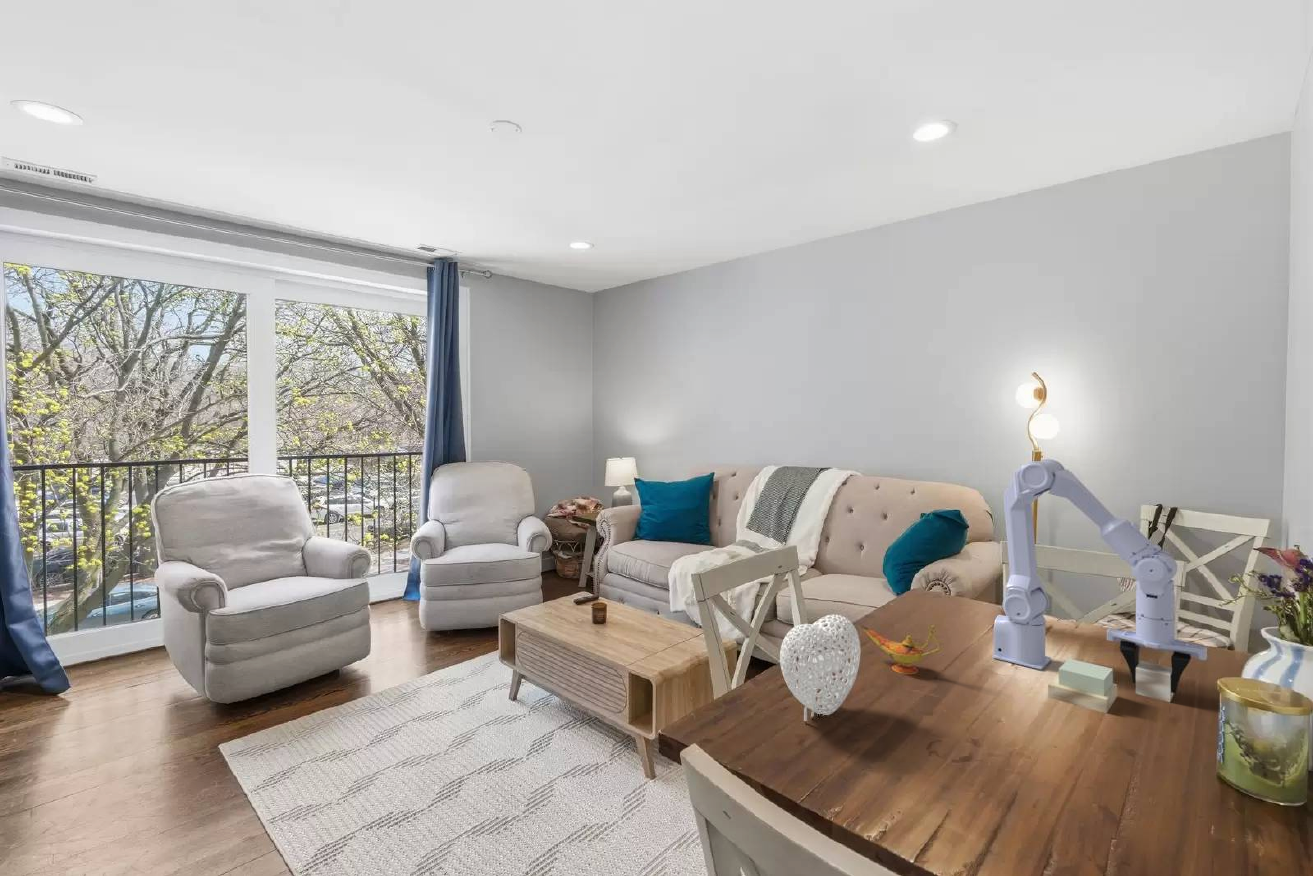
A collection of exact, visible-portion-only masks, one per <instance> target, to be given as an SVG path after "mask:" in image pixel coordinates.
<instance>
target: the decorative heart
mask: <svg viewBox="0 0 1313 876" xmlns="http://www.w3.org/2000/svg"><path fill="white" fill-rule="evenodd" d="M826 625H827V626H826ZM839 627H840V628H839ZM799 636H800V637H799ZM842 637H843V638H842ZM860 641H861V640H860V637H859V634H858V631H857V629H856V627H855V626H854V624H853V623H852V621H850V619H848V618H847V617H845V616H843V615H840V614H828V615H825V616H823V617H821V618H819V619H818V620H816V621H815V622H813V623H812V624H811V623H803V624H797V625H795V626H794V627H793V628H791V629H790V630H789V631H788V632H787V633H786V635H784V638H783V640H782V643H781V646H780V650H779V651H780V652H779V653H780V654H779V663H780V664H779V665H780V668H781V669H780V670H781V673H782V676H783V678H784V681H785V684H786V685H787V688H788V689H789V690H790V692H791V693H792V695H793V696H794V697H795V698H796V699H797V700H798V701H799V702H800V703H801V704H803V706H804V708H803V721H807V722H808V709H809V710H811V712H810V718H811V717H813V716H814V717H815V714H817V715H818V714H819V715H820V714H823V715H822V716H824V715H827V716H829V715H831V714H833V713H834V712H836V711H837V710H838V709H839V708H841V705H842V704H843V702H845V700H846V698H847V697H848V695H849V693H850V691H851V689H852V687H853V686H854V684H855V681H856V678H857V675H858V672H859V668H860V662H861V653H862V652H861V642H860ZM801 647H802V648H801ZM825 648H826V649H825ZM842 650H843V651H842ZM797 659H798V660H797ZM849 659H850V660H849ZM840 671H841V672H840ZM833 673H834V674H835V675H833ZM834 679H835V680H834ZM818 690H819V692H818ZM816 698H817V699H816ZM818 709H819V710H818Z"/></svg>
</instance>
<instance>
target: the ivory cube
mask: <svg viewBox="0 0 1313 876" xmlns="http://www.w3.org/2000/svg"><path fill="white" fill-rule="evenodd" d="M1171 681H1172V666H1166V665H1161V664H1158V663H1157V664H1156V663H1152V662H1148V661H1145V660H1144V661H1143V660H1140V661H1139V664H1138V665H1137V667H1136V684H1135V695H1138V696H1141V697H1142V696H1143V697H1145V698H1151V699H1155V700H1158V701H1162V702H1167V703H1171V701H1172V699H1173V697H1174V696H1175V695H1174V694H1175V693H1172V692H1171Z"/></svg>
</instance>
